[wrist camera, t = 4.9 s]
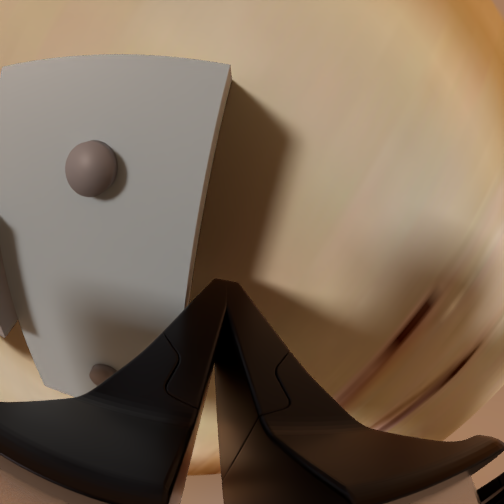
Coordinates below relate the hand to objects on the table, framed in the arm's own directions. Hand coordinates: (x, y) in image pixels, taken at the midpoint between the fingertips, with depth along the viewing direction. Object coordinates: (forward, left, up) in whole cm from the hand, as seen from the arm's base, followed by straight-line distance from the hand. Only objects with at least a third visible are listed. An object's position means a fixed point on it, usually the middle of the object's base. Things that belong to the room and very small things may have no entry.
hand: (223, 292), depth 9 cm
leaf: (0, +5, -1) cm, 5 cm away
